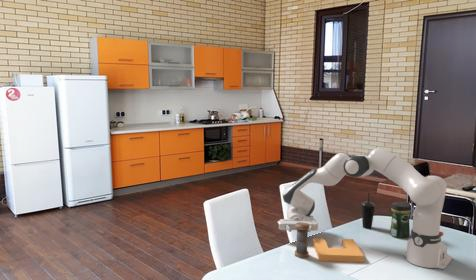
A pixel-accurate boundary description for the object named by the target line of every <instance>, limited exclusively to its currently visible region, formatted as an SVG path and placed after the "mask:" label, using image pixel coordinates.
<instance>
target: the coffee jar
mask: <svg viewBox="0 0 476 280" xmlns="http://www.w3.org/2000/svg"><path fill="white" fill-rule="evenodd" d="M411 207H412V205H411V203H409V202H407V201H399V202H398V201H397V202H392V203H391V208H390V209H391V215H392V216H391V222H390V228H389V229H390V230H389V234H390V236H392V237H394V238H397V239H400V238H401V239H403V238H408V237H411V230H410V229H411V228H410V215H411V212H412V208H411Z"/></svg>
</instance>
